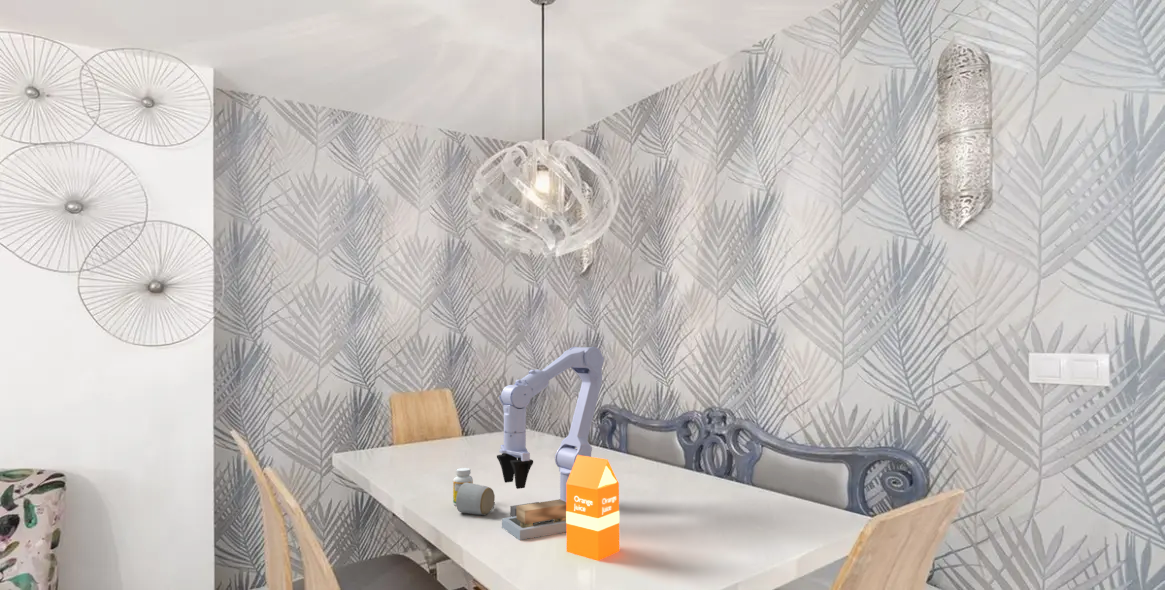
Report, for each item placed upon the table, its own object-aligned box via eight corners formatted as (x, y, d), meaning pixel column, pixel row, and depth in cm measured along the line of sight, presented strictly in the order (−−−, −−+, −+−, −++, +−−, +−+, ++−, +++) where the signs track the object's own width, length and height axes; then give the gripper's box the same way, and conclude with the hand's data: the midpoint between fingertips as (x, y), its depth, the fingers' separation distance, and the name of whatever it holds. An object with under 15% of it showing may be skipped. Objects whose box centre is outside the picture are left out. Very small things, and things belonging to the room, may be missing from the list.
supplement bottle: (465, 507, 162) (466, 471, 163) (449, 505, 164) (449, 470, 165) (475, 502, 167) (476, 468, 168) (459, 500, 169) (460, 466, 170)
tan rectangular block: (560, 511, 149) (560, 499, 150) (569, 516, 145) (569, 503, 145) (516, 518, 143) (516, 505, 144) (524, 524, 139) (525, 510, 139)
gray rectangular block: (538, 511, 158) (538, 501, 158) (543, 514, 156) (543, 504, 156) (510, 515, 154) (510, 506, 154) (515, 518, 152) (515, 508, 152)
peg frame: (564, 517, 153) (564, 507, 153) (585, 528, 144) (585, 517, 144) (501, 527, 144) (501, 517, 145) (519, 540, 135) (519, 529, 135)
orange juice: (588, 542, 134) (588, 452, 135) (620, 551, 128) (619, 456, 130) (565, 551, 128) (565, 457, 129) (597, 561, 122) (597, 462, 124)
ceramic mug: (482, 518, 152) (482, 488, 153) (454, 515, 155) (455, 485, 155) (501, 508, 162) (502, 479, 163) (475, 505, 165) (476, 477, 165)
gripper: (490, 429, 158) (489, 481, 157) (511, 436, 146) (511, 493, 144) (514, 427, 162) (514, 478, 161) (537, 434, 149) (537, 489, 148)
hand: (514, 484), depth 153 cm, fingers open, 7 cm apart
